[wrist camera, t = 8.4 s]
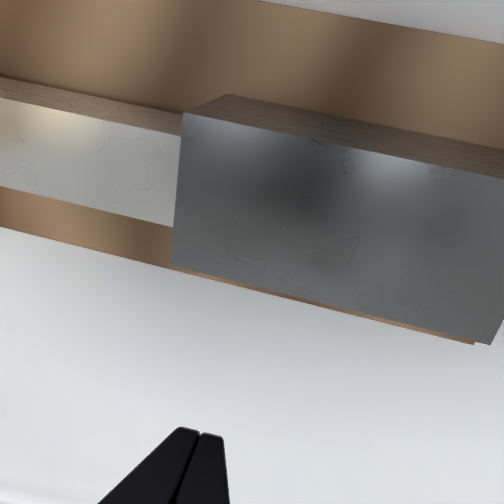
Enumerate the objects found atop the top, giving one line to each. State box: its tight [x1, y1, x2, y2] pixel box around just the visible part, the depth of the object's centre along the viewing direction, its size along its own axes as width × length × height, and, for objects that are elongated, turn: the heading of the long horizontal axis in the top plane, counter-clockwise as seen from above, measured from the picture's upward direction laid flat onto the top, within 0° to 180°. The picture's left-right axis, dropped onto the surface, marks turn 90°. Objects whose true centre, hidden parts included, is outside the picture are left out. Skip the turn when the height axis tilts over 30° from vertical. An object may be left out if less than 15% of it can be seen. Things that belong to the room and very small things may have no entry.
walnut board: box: [0, 0, 504, 345], centre depth 18 cm, size 28×11×1 cm, turn 81°
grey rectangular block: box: [170, 94, 504, 345], centre depth 15 cm, size 10×5×5 cm, turn 81°
